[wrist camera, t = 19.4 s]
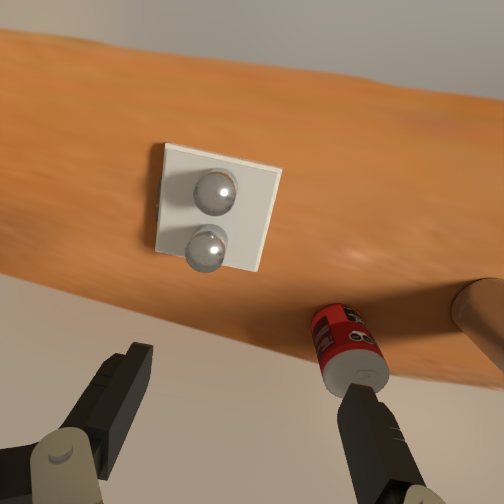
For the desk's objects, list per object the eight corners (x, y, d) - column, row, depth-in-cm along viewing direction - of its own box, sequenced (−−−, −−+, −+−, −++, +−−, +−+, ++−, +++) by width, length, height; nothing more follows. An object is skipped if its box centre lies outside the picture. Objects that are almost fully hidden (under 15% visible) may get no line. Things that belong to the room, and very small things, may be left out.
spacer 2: (231, 229, 38) (228, 243, 34) (223, 260, 40) (218, 277, 35) (198, 219, 38) (189, 232, 33) (190, 250, 39) (181, 266, 35)
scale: (281, 166, 38) (282, 170, 35) (257, 265, 43) (257, 274, 41) (166, 140, 37) (158, 142, 34) (156, 244, 43) (148, 252, 40)
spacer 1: (241, 172, 35) (239, 179, 31) (234, 208, 37) (230, 220, 33) (204, 164, 35) (196, 170, 31) (199, 200, 37) (190, 211, 32)
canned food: (368, 332, 48) (397, 389, 37) (320, 349, 49) (335, 408, 39) (353, 294, 45) (380, 343, 35) (302, 312, 46) (314, 365, 36)
